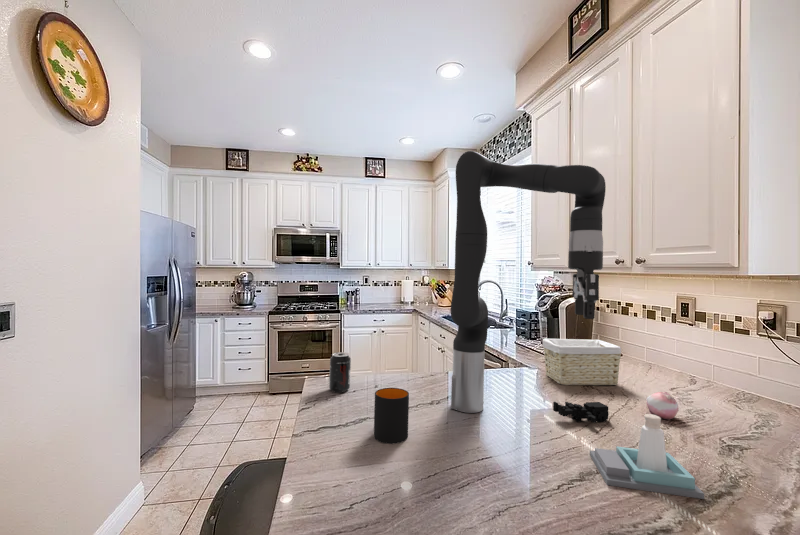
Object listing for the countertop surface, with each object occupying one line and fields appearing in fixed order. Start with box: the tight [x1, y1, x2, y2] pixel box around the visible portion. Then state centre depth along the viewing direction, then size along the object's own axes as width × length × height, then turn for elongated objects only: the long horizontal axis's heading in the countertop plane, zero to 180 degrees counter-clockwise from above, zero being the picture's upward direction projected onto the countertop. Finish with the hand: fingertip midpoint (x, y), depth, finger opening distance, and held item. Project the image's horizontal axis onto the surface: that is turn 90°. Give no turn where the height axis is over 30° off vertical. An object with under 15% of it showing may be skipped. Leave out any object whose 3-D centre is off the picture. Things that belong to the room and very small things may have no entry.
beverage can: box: [328, 351, 352, 394], centre depth 121 cm, size 7×7×12 cm
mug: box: [373, 387, 410, 445], centre depth 90 cm, size 8×12×10 cm
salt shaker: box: [636, 414, 668, 472], centre depth 74 cm, size 5×5×11 cm
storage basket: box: [542, 337, 622, 386], centre depth 141 cm, size 24×16×15 cm
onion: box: [645, 391, 679, 420], centre depth 105 cm, size 8×8×7 cm
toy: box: [552, 401, 610, 424], centre depth 101 cm, size 12×5×15 cm
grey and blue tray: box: [589, 446, 705, 500], centre depth 74 cm, size 16×12×3 cm
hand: (584, 316), depth 89 cm, fingers open, 8 cm apart
